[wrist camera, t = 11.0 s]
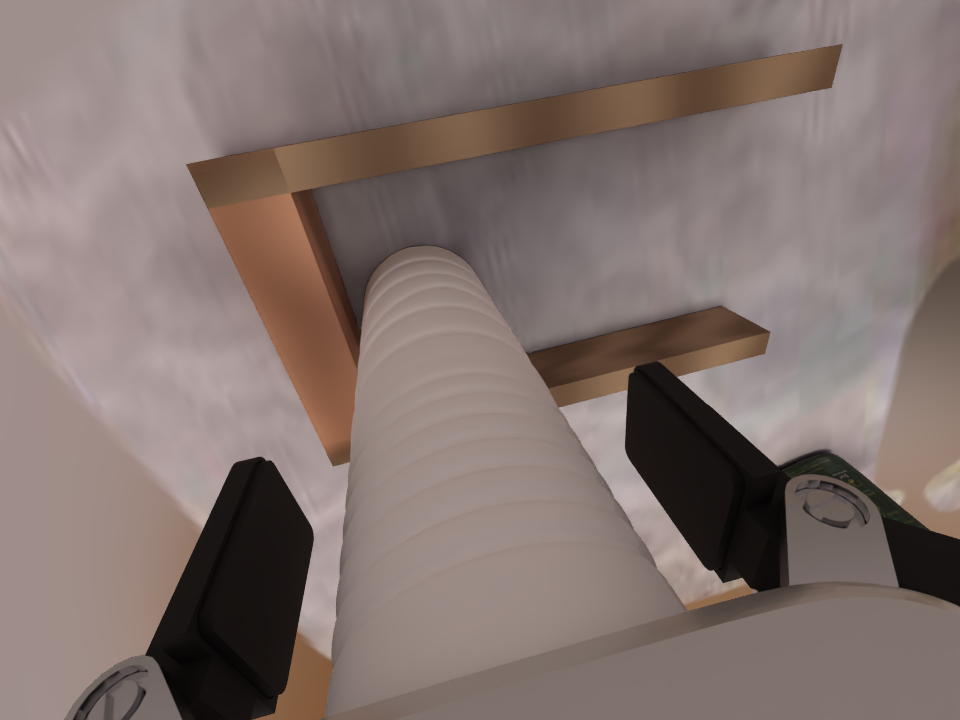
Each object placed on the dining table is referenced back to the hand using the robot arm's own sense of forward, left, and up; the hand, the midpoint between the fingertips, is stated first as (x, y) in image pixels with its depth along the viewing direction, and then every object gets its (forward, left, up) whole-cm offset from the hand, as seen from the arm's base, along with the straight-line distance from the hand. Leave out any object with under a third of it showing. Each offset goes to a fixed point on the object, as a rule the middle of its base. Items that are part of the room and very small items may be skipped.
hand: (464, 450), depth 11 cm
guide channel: (-6, 0, -14) cm, 15 cm away
